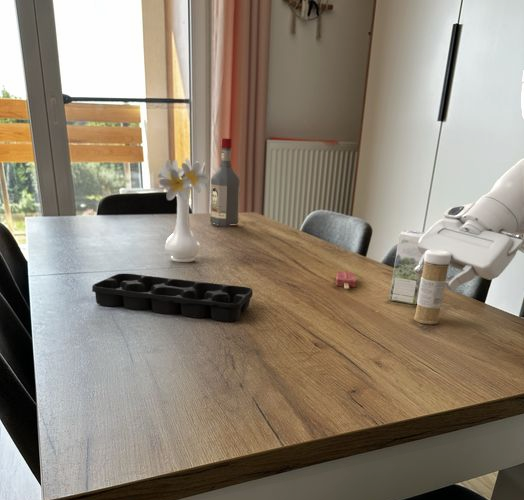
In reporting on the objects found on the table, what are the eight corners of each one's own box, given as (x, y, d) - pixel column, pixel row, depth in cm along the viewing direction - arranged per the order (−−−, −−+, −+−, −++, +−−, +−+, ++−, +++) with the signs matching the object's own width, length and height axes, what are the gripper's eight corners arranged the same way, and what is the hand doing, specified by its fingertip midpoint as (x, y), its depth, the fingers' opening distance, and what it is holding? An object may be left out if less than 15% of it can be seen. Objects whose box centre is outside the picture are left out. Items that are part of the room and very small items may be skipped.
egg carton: (109, 288, 107) (108, 271, 106) (253, 296, 107) (254, 279, 106) (80, 315, 91) (79, 294, 89) (250, 324, 91) (251, 304, 90)
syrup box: (419, 299, 113) (431, 232, 107) (415, 305, 108) (427, 236, 102) (393, 294, 115) (404, 229, 109) (388, 301, 110) (398, 232, 104)
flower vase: (157, 268, 125) (154, 159, 116) (161, 252, 142) (159, 156, 133) (210, 269, 127) (212, 162, 118) (208, 253, 144) (210, 158, 135)
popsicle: (337, 283, 114) (336, 269, 128) (336, 291, 114) (335, 276, 128) (357, 285, 113) (354, 271, 127) (356, 293, 114) (353, 278, 128)
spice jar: (429, 317, 101) (442, 249, 96) (442, 325, 97) (456, 254, 92) (408, 317, 100) (420, 248, 95) (421, 325, 96) (434, 254, 91)
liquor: (226, 222, 199) (229, 138, 188) (241, 225, 193) (244, 139, 181) (207, 223, 194) (208, 137, 182) (221, 227, 187) (223, 138, 176)
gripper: (537, 249, 87) (478, 308, 88) (457, 229, 105) (409, 277, 105) (523, 223, 84) (462, 283, 84) (443, 206, 102) (393, 256, 102)
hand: (432, 280), depth 95 cm, fingers open, 8 cm apart
